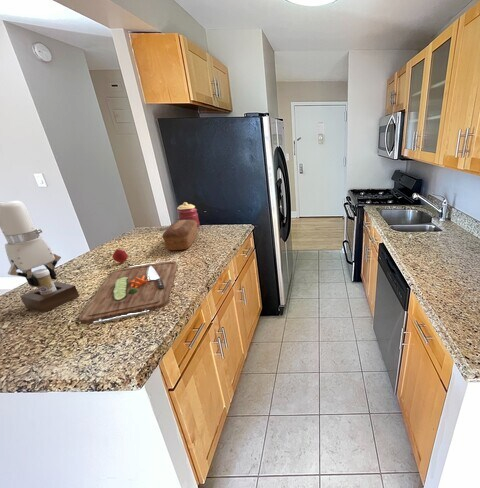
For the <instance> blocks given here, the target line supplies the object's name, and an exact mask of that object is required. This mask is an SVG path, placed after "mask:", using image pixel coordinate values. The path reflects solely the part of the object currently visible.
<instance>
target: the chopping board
mask: <svg viewBox="0 0 480 488" xmlns="http://www.w3.org/2000/svg"><path fill="white" fill-rule="evenodd" d="M177 269H178V263H177V261H173V260H171V261H167V260H163V261H156V262H149V263H143V264H136V265H128V267H125V268H119V269H116V270H114V271H111V273H110V274H109V275H108V276H107V278H106V279H105V280H104V282H103V283H102V285H101V286H100V287H99V289H98V290H97V292H96V293H95V294H94V296H93V297H92V298H91V299H90V301H89V303H88V304H87V305H86V307H85V308H84V309H83V311H82V312H81V313H80V314H79V316H78V320H79V322H80V323H82V324H89V323H92V324H93V325H96V324H101V323H106V322H111V321H115V320H119V319H125V318H130V317H134V316H135V317H136V316H139V315H144V314H148V313H150V311H152V310H157V309H160V308H163V307H165V306H166V305H167V304H168V303H169V300H170V295H171V292H172V288H173V284H174V280H175V276H176V273H177Z"/></svg>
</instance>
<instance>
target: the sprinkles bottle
mask: <svg viewBox="0 0 480 488" xmlns="http://www.w3.org/2000/svg"><path fill="white" fill-rule="evenodd" d="M32 276H33V277H35V278H36V280H37V282H38V284H39V286H38V287H37V289H39V292H40V294H41V295H42V296H45V295H47V294H50V293H52V292H54V291H57V289H56V287H55V285H54V282H55V281H54V280H53V279H51V276H50V272H49V270H48V269H46V268H38V269H36V270H32Z"/></svg>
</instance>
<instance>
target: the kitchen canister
mask: <svg viewBox="0 0 480 488" xmlns="http://www.w3.org/2000/svg"><path fill="white" fill-rule="evenodd" d="M176 209H177V210H176V213H177V219H178V221H179V220H195V221H196V222H197V228H198V227H200V226H201V225H200V224H201V223H200V220H199V213H198V212H197V211H198V209H197V208H196V205H194V204H192V203H188V202H186V201H184V202H183V203H182V204H180V205H178V207H176Z"/></svg>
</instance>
